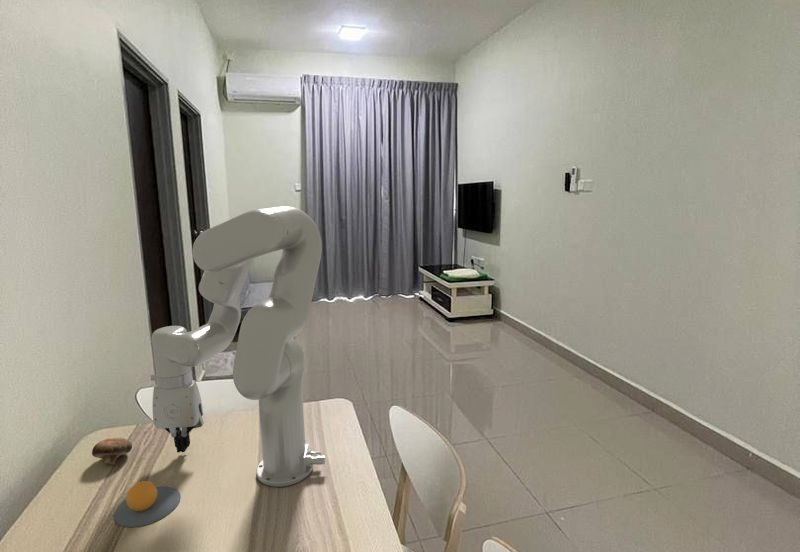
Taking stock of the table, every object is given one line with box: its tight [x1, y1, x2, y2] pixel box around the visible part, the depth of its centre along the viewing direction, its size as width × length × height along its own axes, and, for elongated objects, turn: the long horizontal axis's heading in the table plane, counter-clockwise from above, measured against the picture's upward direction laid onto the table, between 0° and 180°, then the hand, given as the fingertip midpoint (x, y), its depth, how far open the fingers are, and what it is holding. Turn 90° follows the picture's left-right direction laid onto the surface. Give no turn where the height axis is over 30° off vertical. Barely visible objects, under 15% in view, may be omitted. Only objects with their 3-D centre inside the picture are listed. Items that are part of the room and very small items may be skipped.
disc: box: [113, 485, 182, 528], centre depth 94 cm, size 12×12×1 cm
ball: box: [125, 480, 157, 511], centre depth 92 cm, size 6×6×6 cm
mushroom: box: [91, 437, 133, 466], centre depth 109 cm, size 8×8×6 cm
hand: (183, 449), depth 111 cm, fingers closed
